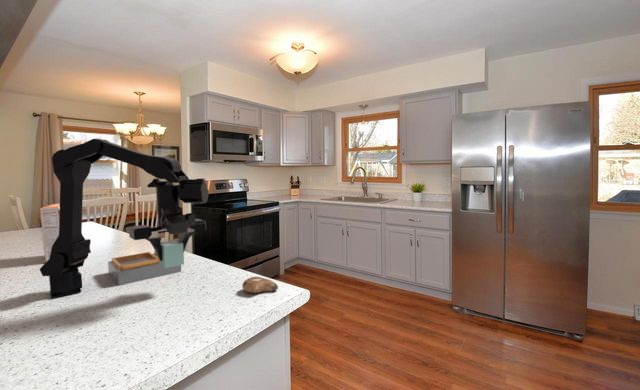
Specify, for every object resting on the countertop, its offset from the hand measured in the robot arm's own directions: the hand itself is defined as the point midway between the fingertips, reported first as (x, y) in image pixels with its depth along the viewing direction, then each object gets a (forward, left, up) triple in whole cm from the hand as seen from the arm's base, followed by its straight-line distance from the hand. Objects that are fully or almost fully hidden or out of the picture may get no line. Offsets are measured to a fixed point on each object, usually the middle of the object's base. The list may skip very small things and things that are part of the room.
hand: (171, 258), depth 87 cm
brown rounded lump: (+17, -17, -10) cm, 27 cm away
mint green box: (0, +1, -2) cm, 2 cm away
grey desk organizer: (-1, +23, -9) cm, 25 cm away
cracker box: (-20, +66, -10) cm, 70 cm away
